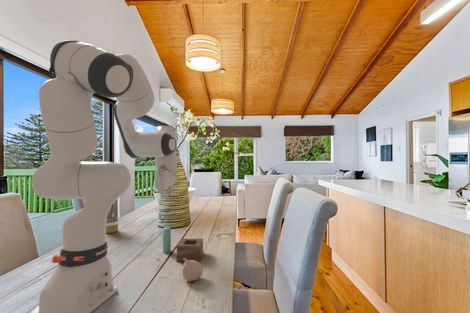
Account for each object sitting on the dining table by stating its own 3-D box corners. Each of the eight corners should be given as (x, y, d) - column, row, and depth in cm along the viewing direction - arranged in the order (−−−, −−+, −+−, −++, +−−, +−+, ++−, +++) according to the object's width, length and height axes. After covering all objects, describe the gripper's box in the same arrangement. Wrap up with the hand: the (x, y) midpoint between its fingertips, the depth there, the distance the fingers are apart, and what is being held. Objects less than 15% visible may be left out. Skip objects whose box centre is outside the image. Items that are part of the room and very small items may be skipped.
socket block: (200, 261, 99) (200, 246, 99) (176, 261, 99) (176, 246, 98) (203, 252, 108) (202, 238, 108) (181, 253, 108) (181, 238, 108)
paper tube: (112, 234, 135) (112, 186, 135) (101, 233, 136) (100, 186, 136) (120, 230, 142) (120, 185, 142) (109, 229, 143) (109, 184, 143)
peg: (169, 253, 107) (169, 229, 107) (162, 253, 107) (161, 229, 107) (171, 250, 111) (171, 227, 111) (164, 250, 111) (164, 227, 111)
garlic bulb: (185, 275, 87) (185, 251, 87) (204, 275, 87) (203, 251, 87) (180, 285, 81) (180, 259, 81) (200, 285, 81) (200, 259, 81)
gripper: (167, 165, 98) (167, 201, 99) (178, 163, 119) (179, 193, 119) (150, 165, 98) (151, 201, 99) (165, 163, 119) (165, 193, 119)
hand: (166, 197), depth 109 cm, fingers open, 8 cm apart
